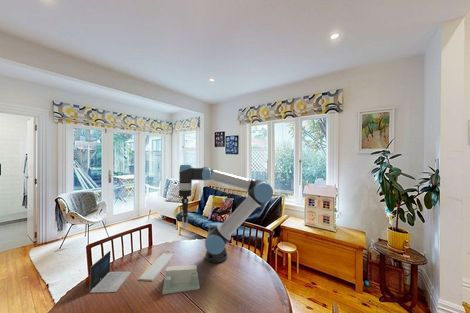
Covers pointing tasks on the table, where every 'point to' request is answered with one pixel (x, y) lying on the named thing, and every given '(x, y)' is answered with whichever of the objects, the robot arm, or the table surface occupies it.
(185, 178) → the robot arm
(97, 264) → the laptop
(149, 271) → the baseboard
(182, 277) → the white rectangular block
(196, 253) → the table surface
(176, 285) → the rack
